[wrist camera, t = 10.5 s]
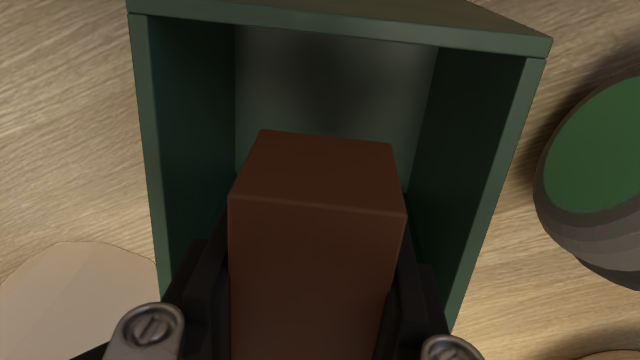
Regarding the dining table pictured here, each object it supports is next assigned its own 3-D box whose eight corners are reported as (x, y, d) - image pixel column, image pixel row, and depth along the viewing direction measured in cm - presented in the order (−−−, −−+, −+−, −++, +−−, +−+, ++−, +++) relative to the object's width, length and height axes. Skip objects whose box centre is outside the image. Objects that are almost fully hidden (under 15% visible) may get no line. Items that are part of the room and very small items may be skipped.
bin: (226, -29, 22) (123, -10, 12) (459, -3, 22) (555, 37, 12) (228, 176, 28) (160, 306, 18) (412, 197, 28) (449, 339, 18)
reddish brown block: (259, 127, 11) (226, 194, 8) (392, 141, 11) (409, 214, 8) (254, 318, 14) (228, 417, 11) (356, 329, 14) (358, 431, 11)
